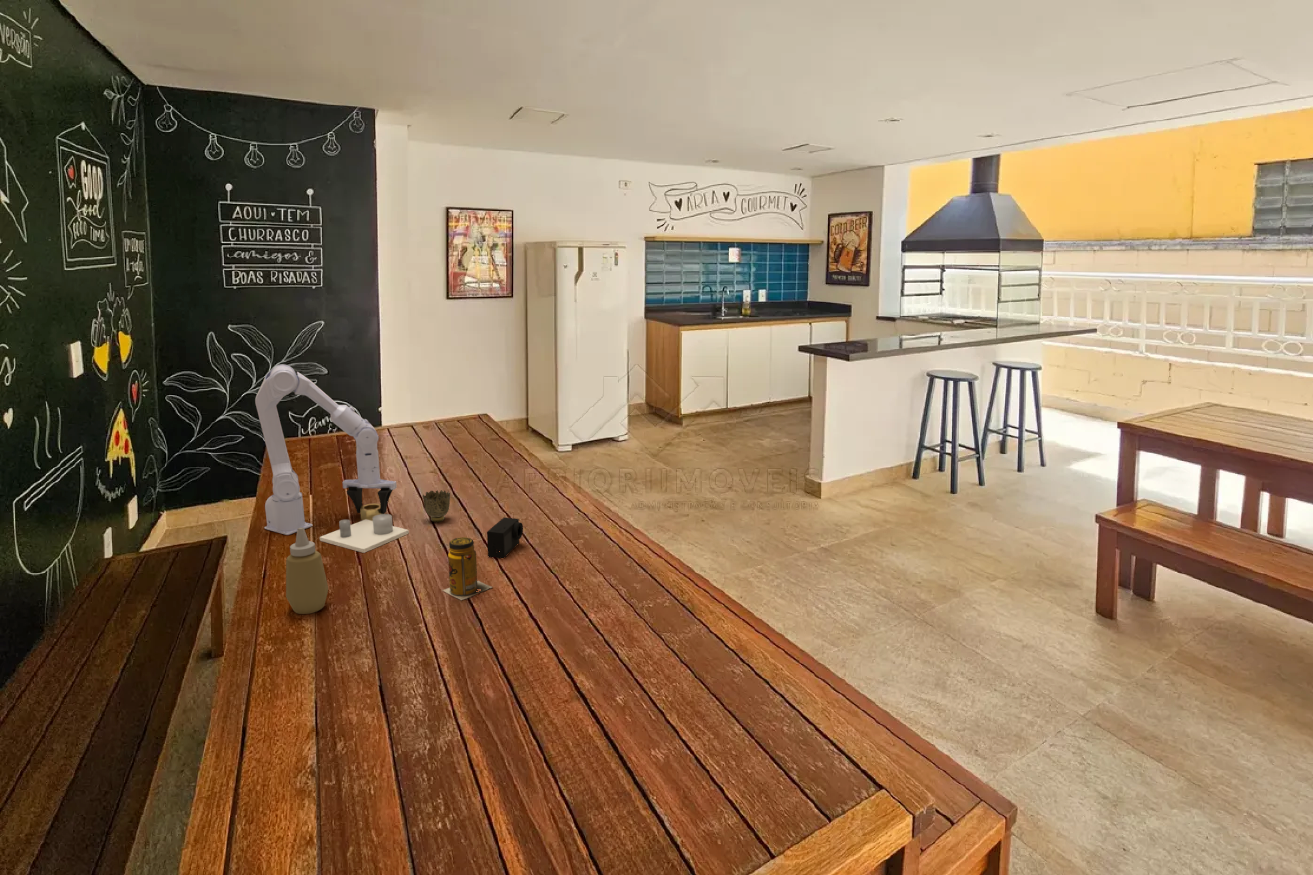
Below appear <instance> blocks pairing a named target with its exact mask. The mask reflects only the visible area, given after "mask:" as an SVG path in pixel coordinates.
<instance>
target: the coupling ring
mask: <svg viewBox="0 0 1313 875" xmlns="http://www.w3.org/2000/svg"><path fill="white" fill-rule="evenodd" d="M380 514H381V509H380V503H377V502H376V503H368V504H363V506H361V508H360V521H363V520H365V519H367V520H371V521H373V517H374V516H376V515H380Z"/></svg>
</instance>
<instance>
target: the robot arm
mask: <svg viewBox="0 0 1313 875" xmlns="http://www.w3.org/2000/svg"><path fill="white" fill-rule="evenodd" d="M292 392H294V395H299V396H306V397H307V398H308V399H309V400H310V399H311V400H312V401H313V402H314V403H315V404H317V405H318V406H319V407H320V408H322V409H323V410H325V411H326V412H327V413H329V414H330V421H331V422H332V423H333V424H334V425H336V426H337V427H338V428H340V429H341V430H342V431H343V432H344V433H346V434H347V435H349V436H350V437H353V439H354V440H355V444H356V446H355V448H356V451H355V456H356V468H357V478H356V479H344V480H343V481H342V488H343V489H347V488H348V489H347V490H346V494H347V495H348V497H349V498H350V499H351V501H352V504H354V507H355V510H356V513H357V514H361V512H360V508H361V506H364V504H363V489H379V490H378V491H377V496H378V499H379V504H380V509H381V514H386V513H387V511H388V510H387V508H388V502H389V500H390V496H391V495H392V492H393V491H394V490H396V489H397V488H398V487H397V486H398V485H397V481H396V480H394V481H393V480H387V479H382V478H381V476H380V474H381V473H380V472H381V471H380V460H379V450H378V442H379V438H380V436H379V435H378V431H377V430H376V429H375V427H374V426H373V425H372V424H371V423H370V422H369V420H368V419H366V418H363V417H361V415H359V414H358V413H357V412H355V411H356V409H355V408H354V407H353V406H352V405H351V406H348V405H346V404H338V403H337V402H335V401H334V399H332V398H331V397H330V396H329V395H328V394H326V393H325V392H324V391H323V390H322V389H321V388H320V387H319V386H317V385H316V384H315V383H314V382H313V381H312V380H310V379H309V378H308V377H306V376H304V375H303V374H302V373H300V371H295V369H294V368H293V367H292V366H290V365H287V364H282V363H281V364H277V365H275V366H274V367H272V368H271V369H270V370H269V371H268V372H267V373H266V374H265V376H264V378H263V381H262V383H261V385H260V387H259V389H258V392H257V394H256V396H255V399H254V402H255V406H256V407H255V408H256V411H257V414H258V418H259V423H260V427H261V431H262V434H263V439H264V441H265V446H266V450H267V454H268V458H269V462H270V467H271V471H272V472H271V473H272V481H271V482H272V492H273V494H272V495H270V496H269V497H268V498H267V500H265V504H264V510H265V516H266V517H265V518H266V519H265V520H266V526H264V529H265V530H266V531H271V532H274V533H279V534H281V535H282V534H283V535H286V536H289V535H292V534H294V533H297V529H298V528H301V527H302V528H304V530H305V529H308V528H310V527H313V524H312V523H310V522H306V519H305V511H304V501H303V499H304V498H303V493H302V492H300V491H301V488H300V483H299V476H298V474H297V472H295V470H293V467H292V463H291V461H290V457H289V453H288V448H287V444H286V441H285V436H284V432H283V428H282V424H281V421H280V420H281V419H280V417H279V416H280V415H279V412H278V408H277V405H278V404H279V403H280V402H281V401H282V400H283V397H285V396H287V395H289V394H291V393H292Z"/></svg>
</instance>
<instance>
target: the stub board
mask: <svg viewBox="0 0 1313 875" xmlns="http://www.w3.org/2000/svg"><path fill="white" fill-rule="evenodd" d="M338 523H339V525H338V526H339V529H337V530H335V531H332V532H329V533H327V534H324V535H321V536H319V541H320V542H323V543H327V544H331V545H335V546H338V547H341V548H345V549H348V550H353V551H356V552H359V553H363V554H365V553H366V552H369V551H372V550H374V549H376V548H379V547H381V546H383V545H385V544H387V543H390V542H392V541H394V540H397V539H399V538H401V537H403V536H406V535H408V534H409V529H406V528H402V527H399V526H394V525H393V516H392V515H391V514H389V513H384V514H380V515H376V516H374V517H373V520H372V521H371V520H367V519H365V520H360V521H358V522H356V523H353V524H351V520H350V519H341V520H339V522H338Z"/></svg>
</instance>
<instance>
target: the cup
mask: <svg viewBox="0 0 1313 875" xmlns="http://www.w3.org/2000/svg"><path fill="white" fill-rule="evenodd" d="M422 500H423V505H424V509H425V510H424V511H425V512H426V514H427V515H428V516H429V517H430V520H431V522H434V523H441V522H443V521H445V516H446V515H447V514H448V512H449V510H450V503H451V502H450V501H451V492H449V491H446V490H443V489H441V490H440V491H439V490H436V491H434V490H430V491H426V492H425V495H424V494H422Z"/></svg>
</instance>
